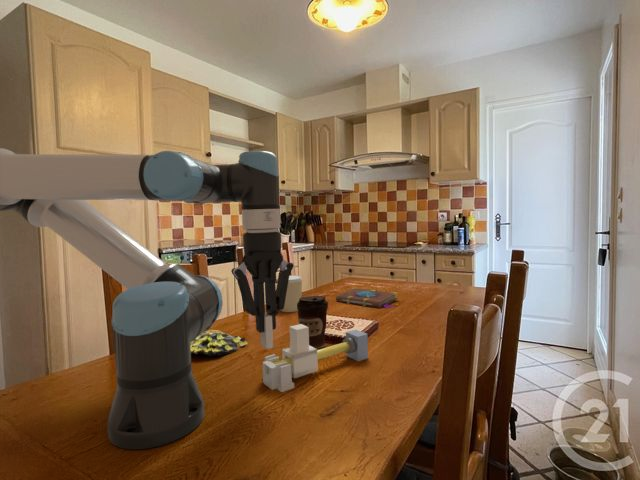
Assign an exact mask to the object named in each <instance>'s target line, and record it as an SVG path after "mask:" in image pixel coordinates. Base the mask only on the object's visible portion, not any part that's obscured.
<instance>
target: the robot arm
mask: <svg viewBox="0 0 640 480" xmlns="http://www.w3.org/2000/svg"><path fill="white" fill-rule="evenodd" d="M278 165H279V164H278V157H277V156H276V155H275V153H273V152H271V151H265V150H249V151H244V152H241V153H240V154H239V157H238V162H237V163H236V162H235V163H230V164H227V163H225V164H211V163H209V162H205V161H203V160H200V159H197V158H195V157H192V156H190V155H189V154H186V153H184V152H180V151H171V150H162V151H159V152H156V153H155V154H89V153H88V154H74V153H73V154H70V153H69V154H68V153H67V154H66V153H65V154H62V153H61V154H60V153H59V154H57V153H56V154H53V153H52V154H47V153H46V154H45V153H44V154H42V153H41V154H40V153H38V154H34V153H33V154H32V153H31V154H29V153H28V154H26V153H21V152H17V151H16V152H15V151H12V150H10V149H7V148H4V147H2V148H1V147H0V211H3V212H4V211H7V212H10V211H11V212H15V213H16V214H18V215H19V216H20V217H22V218H23V219H24V220H25V221H27V222H28V223H29V224H31V225H32V226H34V227H36V228H49V229H50V230H51V231H53V232H54V234H56V235H58V236H59V237H60V238H62V239H63V240H64V241H65V242H66V243H68V244H69V245H71V246H72V247H73V248H74V249H76V251H78V252H79V253H81V254H82V255H83V256H85V257H86V258H87V259H89V260H90V261H91V262H92V263H94V264H95V265H97V267H99V268H100V269H101V270H103V271H104V272H105V273H107V274H108V275H109V276H110V277H112V278H113V280H116V282H118V283H119V284H121V285H122V286H123V287H124V288H126V290H124V291H122V292H121V293H119V294H118V295H117V296H116V297H115V298H114V301H113V303H112V314H111V315H112V316H111V324H110V325H111V327H112V333H113V343H114V344H113V345H114V358H115V359H114V361H115V372H116V373H115V374H116V390H115V394H114V398H113V400H112V403H111V408H110V412H109V415H108V419H107V427H106V428H107V437H108V440H109V442H110V443H111V444H112V445H113V446H116V447H118V448H121V449H126V450H146V449H152V448H156V447H160V446H164V445H167V444H169V443H172V442H175V441H177V440H179V439H181V438H183V437H185V436H186V435H188V434H190V433H191V432H193V431H194V430H195V429H196V428H197V427H198V426H199V425H200V424H201V422H203V419H204V417H205V402H204V397H203V395H202V392H201V391H200V389H199V388H200V387H199V386H198V383H197V380H196V379H195V377H194V374H193V370H192V369H193V368H192V354H191V347H190V343H191V342H192V341H193V340H194V339H196V338H197V337H198V336H199V335H200V334H202V333H203V332H205V331H207V330H210V328H211V327H212V326H213V325H214V323H215V322H216V321H217V319H219V316H220V315H221V313H222V310H223V304H224V303H223V296H222V295H223V294H222V292H221V290H220V287H219V286H218V285H217V283H216V282H215V281H214V280H212V279H211V278H209V277H208V276H205V275H199V274H198V275H197V274H196V275H194V274H193V273H191V272H190V271H188V270H187V269H186V268H185V267H183V266H182V265H181V264H179V263H170V264H168V263H166V261H164V260H162V259H161V258H160V257H159V256H158V255H156V254H155V253H153V252H152V251H151V250H150V249H148V248H147V247H145V246H144V245H143V244H142V243H141V242H139V241H138V240H137V239H135V238H134V237H133V236H132V235H130V234H129V233H127V232H126V231H125V230H124V229H123V228H121V227H120V226H119V225H117V223H115V222H113V220H111V219H110V218H109V217H107V215H105V214H103V213H102V212H101V211H100V210H99V209H97V208H96V207H94V206H93V205H92V204H91V203H89V202H88V201H87V200H89V201H90V200H91V201H162V202H163V201H165V202H167V201H168V202H169V201H170V202H184V203H185V204H196V205H204V204H218V203H241V220H242V221H241V223H242V225H241V226H242V230H243V231H245V232H244V233H243V234H242V244H243V258H242V259H241V261H242V263H241V264H240V265H238V266H237V267H233V268H232V269H231V272H230V273H232V275H233V276H234V279H236V283H237V284H238V287H239V292H240V295H241V299H242V302H243V305H244V308H245V309H244V310H245V312H246V313H247V314H249V315H251V316H252V317H254V316H255V329H256V331H257V332H258V333H259V335H260V336H259V337H260V346H261V347H263V348H264V349H266V350H269V349H272V348H274V333H273V332H274V330H276V329H277V328H276V327H277V322H276V321H277V318H276V317H277V316H278V315H279V312H280V311H281V310H283V309H284V305H285V299H286V293H287V287H288V281H289V276H291V272H292V270H293V269H294V263H292V262H288V261H287V260H286V259H284V255H283V253H282V233H281V232H280V231H279V230H278V229H281V206H280V205H281V204H280V174H279V167H278ZM278 270H279V272H278ZM247 272H248V273H249V274H250V276H251V281H252V286H253V287H252V288H253V290H252V291H253V293H252V291H251V287H250V283H249V280H248V278H247V276H246V275H248V274H247ZM277 272H278V276H277ZM277 279H278V281H277ZM276 282H277V283H276Z"/></svg>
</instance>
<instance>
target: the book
mask: <svg viewBox="0 0 640 480" xmlns="http://www.w3.org/2000/svg"><path fill="white" fill-rule="evenodd" d="M398 295H399V292H396V291H392V292H388V291H382V290H378V289H377V288H373V287H372V289H365V288H359V287H352V288H351V289H349V290H347V291H344V292H342V293H340V294H337V295H336V296H335V301H336V303H337V302H339V303H343V304H344V303H345V304H347V305H356V306H357V305H358V306H362V307H370V308H376V309H382V308H385V309H391V308H394V306H392V305H390V304H391V303H393V302H396V301H398V299H399V298H397V297H396V296H398Z"/></svg>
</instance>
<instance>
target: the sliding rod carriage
mask: <svg viewBox="0 0 640 480" xmlns="http://www.w3.org/2000/svg"><path fill="white" fill-rule="evenodd" d="M317 350H318V348H314V347H312V346H310V345H309V327H307V326H305V325H302V324H299V323H298V324H296V325H289V347H286V348H282V349H281V352H282V353H281V354H282V357H281V358H282V359H281V360H285V359H288V358H291V360H292V368H291V374H292V378H293V379H297V378H300V377H304V376H306V375H310V374H312V373H315V372H317V371H318V372H319V367H318V366H319V365H318V363H319V361H318V360H319V359H317Z"/></svg>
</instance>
